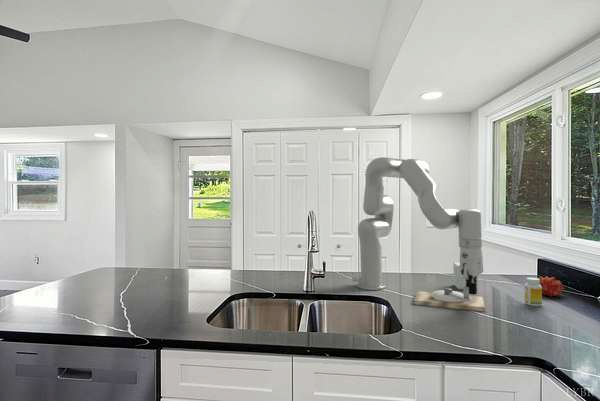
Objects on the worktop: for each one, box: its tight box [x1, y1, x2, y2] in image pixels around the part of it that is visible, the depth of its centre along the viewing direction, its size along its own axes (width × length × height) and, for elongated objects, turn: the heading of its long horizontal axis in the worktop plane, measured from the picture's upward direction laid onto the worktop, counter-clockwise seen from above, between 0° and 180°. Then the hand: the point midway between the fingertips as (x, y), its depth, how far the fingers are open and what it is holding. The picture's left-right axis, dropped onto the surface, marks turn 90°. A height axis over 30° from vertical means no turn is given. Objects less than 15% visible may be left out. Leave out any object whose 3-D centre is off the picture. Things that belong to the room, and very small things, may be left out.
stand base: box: [413, 290, 486, 312], centre depth 134 cm, size 24×14×2 cm, turn 65°
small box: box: [452, 262, 466, 290], centre depth 156 cm, size 8×6×10 cm
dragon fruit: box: [537, 275, 565, 297], centre depth 141 cm, size 8×8×12 cm
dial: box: [431, 286, 470, 303], centre depth 132 cm, size 16×12×6 cm
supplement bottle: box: [524, 277, 543, 307], centre depth 130 cm, size 5×5×10 cm
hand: (471, 293), depth 126 cm, fingers closed
